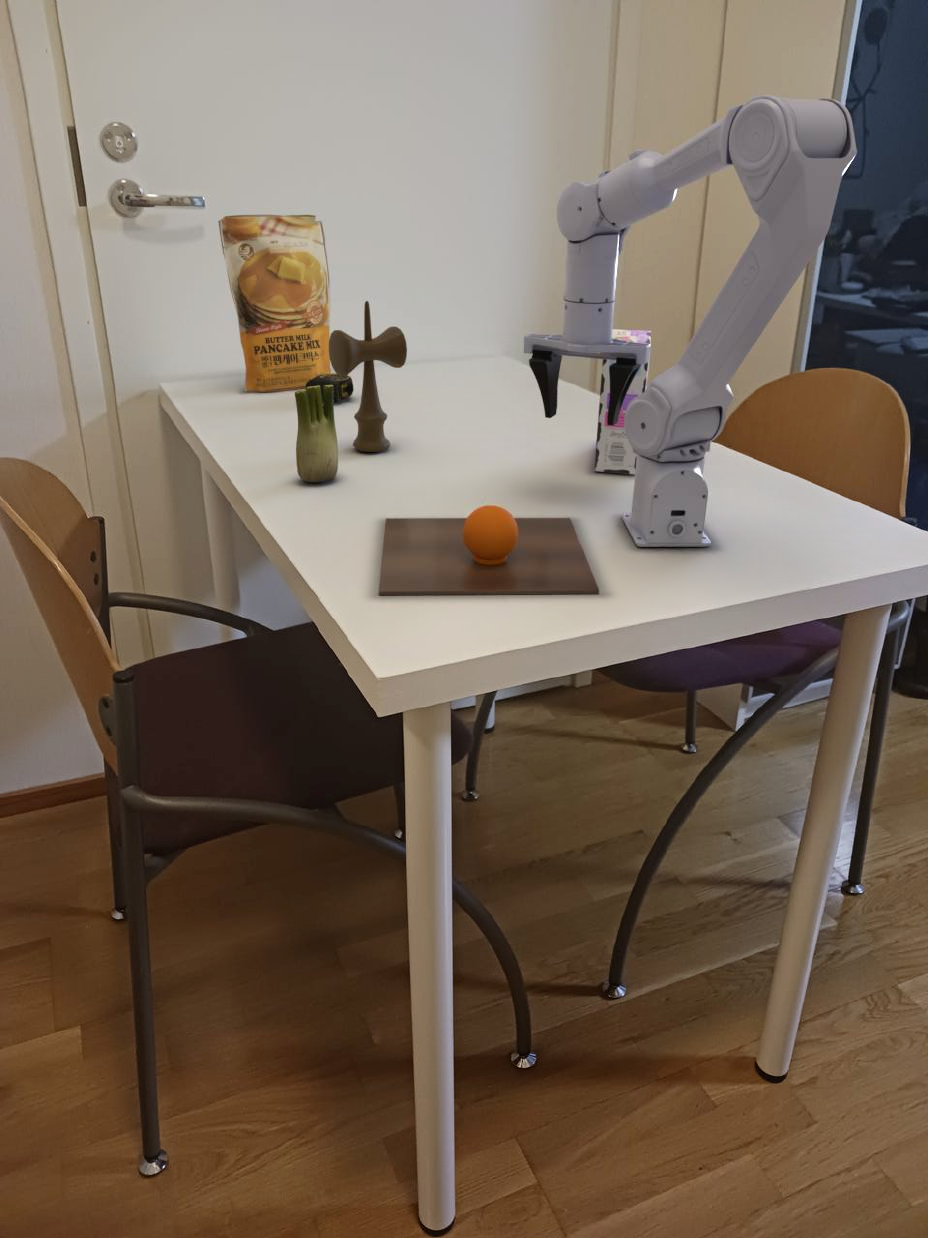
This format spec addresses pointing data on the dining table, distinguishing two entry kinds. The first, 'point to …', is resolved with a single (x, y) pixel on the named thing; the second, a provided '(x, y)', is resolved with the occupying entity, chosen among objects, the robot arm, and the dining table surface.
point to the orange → (490, 534)
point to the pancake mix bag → (279, 297)
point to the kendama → (368, 375)
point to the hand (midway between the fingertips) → (581, 419)
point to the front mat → (443, 565)
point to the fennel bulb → (316, 434)
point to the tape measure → (334, 385)
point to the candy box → (612, 439)
